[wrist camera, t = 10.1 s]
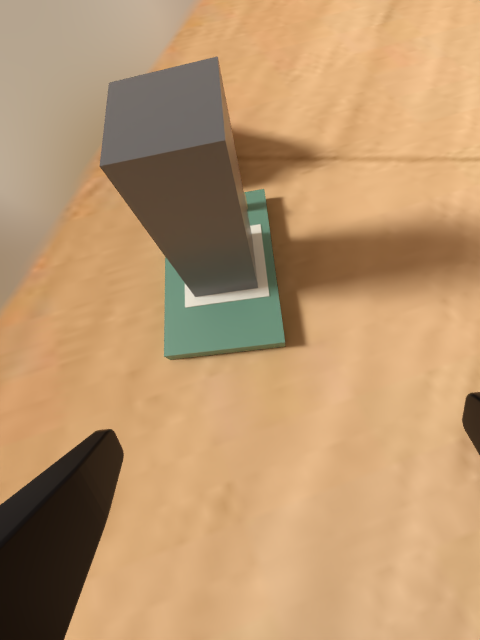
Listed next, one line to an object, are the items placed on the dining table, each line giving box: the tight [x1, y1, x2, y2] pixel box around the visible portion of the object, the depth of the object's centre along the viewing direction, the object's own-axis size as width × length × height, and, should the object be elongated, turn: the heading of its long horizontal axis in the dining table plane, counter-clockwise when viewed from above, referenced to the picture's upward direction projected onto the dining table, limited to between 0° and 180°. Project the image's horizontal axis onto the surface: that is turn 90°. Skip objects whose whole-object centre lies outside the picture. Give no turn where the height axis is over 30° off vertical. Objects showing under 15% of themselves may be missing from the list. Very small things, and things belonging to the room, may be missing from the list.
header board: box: [164, 189, 285, 360], centre depth 24 cm, size 14×9×3 cm, turn 6°
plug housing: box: [100, 57, 258, 297], centre depth 18 cm, size 5×5×12 cm
